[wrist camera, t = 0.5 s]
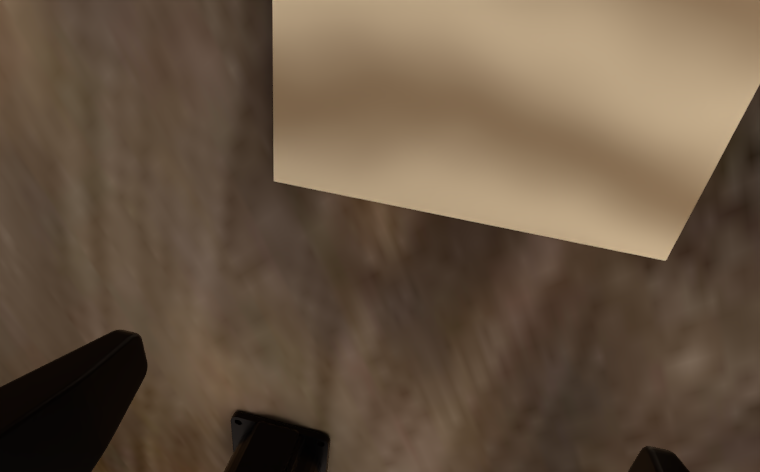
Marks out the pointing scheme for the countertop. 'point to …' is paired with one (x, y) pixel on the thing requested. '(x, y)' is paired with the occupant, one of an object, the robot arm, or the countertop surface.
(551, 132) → the birch board
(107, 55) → the countertop surface
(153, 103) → the countertop surface
